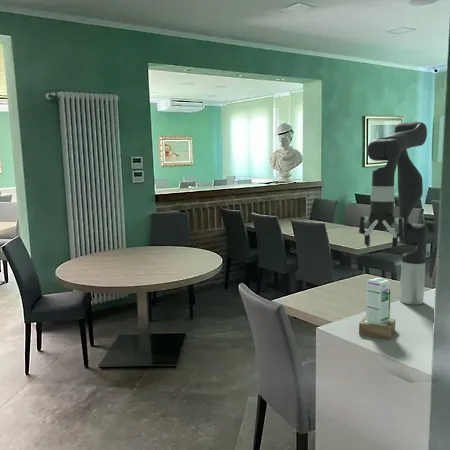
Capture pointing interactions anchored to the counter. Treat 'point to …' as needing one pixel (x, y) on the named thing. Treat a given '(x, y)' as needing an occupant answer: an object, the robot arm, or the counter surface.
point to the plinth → (377, 328)
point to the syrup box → (378, 300)
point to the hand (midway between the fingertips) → (380, 247)
